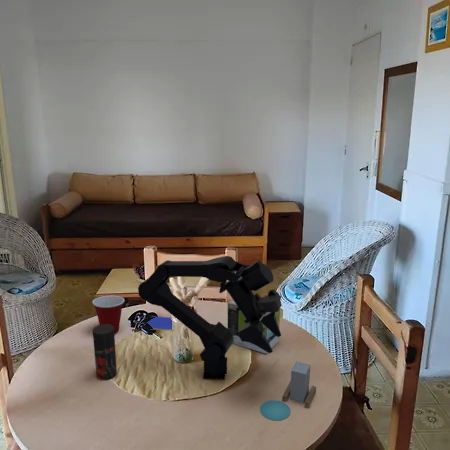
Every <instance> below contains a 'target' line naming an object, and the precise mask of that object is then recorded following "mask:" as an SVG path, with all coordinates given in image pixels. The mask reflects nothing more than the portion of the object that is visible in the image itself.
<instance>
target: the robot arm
mask: <svg viewBox="0 0 450 450" xmlns="http://www.w3.org/2000/svg"><path fill="white" fill-rule="evenodd" d="M171 277H176V278H177V277H178V278H179V277H181V278H187V277H188V278H190V277H191V278H194V277H195V278H205V279H207V280H210V281H213V282H217V283H220V284H219V285H220V287H219V291H218V293H219V294H223V292H225V291H227V293H228V295H229V296H230V298H231V300H232V299H233V300H234V302H235V303H236V305H237V307H236V310H237V312H238V311H241V312H242V314H243V315H244V317H245V318H246V319H245V320H244V322H245V323H246V325H244V326H243V327H242V328H241V330H240V331H239V335H238V336H239V338H240V339H241V341H242V342H244V341H245V342H250V343H252V344H254V345H256V346H258V347H259V348H261V349H263V350H265V351H266V352H268V353H269V354H271V353H273V348H271V346H270V344H269V342H268V341H267V339H266V337H265V335H264V333H265V328H263V325H262V323H263V324H264V325H265V326H266V327H267V328H268V329H269V330H270V331H271V332H272V333H274V334H275V335H276V336H277V337H279V338H281V336H282V333H281V331H280V326H279V327H278V324H277V320H276V317H275V315H276V312H277V311H279V309H280V310H281V307H283V306H282V301H281V299H282V295H280V293H278V291H277V290H276V289H275V288H274V289H270V290H269V291H268V293H267V294H265V295H264V296H261V295H260V294H259V293H257V291H259V290H260V289H262V288H263V287H266V286H267V285H269V284H271V283H272V282H274V280H275V279H274V275H273V272H272V270H271V268H270V267H269V266H267V264H265V263H262V262H261V260H260V259H258V260H256V261H255V262H254V263H253V264H251V265H249V266H248V265H246V264H243V263H242V262H238V261H236V260H235V259H234V257H232V256H229V255H225V256H219V257H214V258H211V259H209V260H208V259H207V260H185V261H184V260H173V261H172V260H170V259H169V260H168V259H167V260H165V261H163V262H162V263H160V264H159V265H158V266H157V267H156V269H155V270H154V272H153V273H151V275H150V276H149V277H148V278H147V279H145V280H144V281H142V282H141V283H140V284H138V288H137V292H138V296H139V297H140V298H141V300H144V302H145V301H146V302H147V303H148V304H150V305H154V306H158V307H162V308H163V309H164V310H165V311H166V312H168V313H169V314H170V315H171V316H173V318H177V319H178V320H177V321H179V322H180V323H181V324H183V325H184V326H185V327H186V328H187V329H188V330H190V331H191V332H193V333H194V335H196V336H197V337H199V339H200V341H201V344H202V346H203V347H204V349H203V350H202V351H201V352H200V353H199V356H200V359H201V361H203V373H202V380H225V379H226V375H227V374H228V357H226V354H227V352H228V351H229V350H230V349H231V347H232V345H233V344H234V343H233V335H232V333H231V332H230V331H229V330H230V329H228V327H226V326H225V325H224V324H222V322H220V321H218V322H217V323H216V324H214V323H210V322H208V320H207V319H205V318H203V316H201V315H200V314H198V313H197V312H196V311H194V310H193V308H191V307H189V306H188V305H187V304H186V303H185V302H183V301H182V300H181V299H180V298H178V296H176V295H174V293H173V292H172V289H171V288H170V286H169V284H168V283H167V281H168V280H169V279H170V278H171ZM253 291H254V292H256V293H254V292H253ZM249 322H250V323H249ZM247 323H248V324H247ZM268 353H267V354H268Z"/></svg>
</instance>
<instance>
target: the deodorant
mask: <svg viewBox="0 0 450 450" xmlns="http://www.w3.org/2000/svg"><path fill="white" fill-rule="evenodd" d="M92 337H93V351H94V365H95V375H96V378H97V380H99V381H110V380H113V379H114V378H116V376H117V374H118V372H117V371H118V369H117V355H116V352H117V351H116V339H115V334H114V327H113V326H112V325H109V324H102V325H100V324H98V325H96V326H95V327H93V329H92Z"/></svg>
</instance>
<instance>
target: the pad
mask: <svg viewBox="0 0 450 450" xmlns="http://www.w3.org/2000/svg"><path fill="white" fill-rule="evenodd" d="M259 411H260V414H261V415H262V416H263V417H265V418H266V419H268V420H271V421H283V420H285V419H287V418H288V417H290V415H291V412H292V411H291V408H290V406H289V405H288V404H287V403H286V402H284V401H282V400H277V399H275V400H274V399H273V400H272V399H271V400H267V401H265V402H263V403H262V404H261V405H260V408H259Z"/></svg>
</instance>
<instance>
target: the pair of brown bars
mask: <svg viewBox="0 0 450 450" xmlns="http://www.w3.org/2000/svg"><path fill="white" fill-rule="evenodd" d="M290 386H291V380H289V383H288V385H287V386H286V389H285V390H284V392H283V394H282V397H281V402H284V403H288V399H290ZM316 392H317V386H315V385H311V387H310V388H309V393H308V395H307V398H306V400H305V402H304V408H306V409H310V407H311V404H312V402H313V399H314V398H315V397H314V396H315V394H316Z"/></svg>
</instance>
